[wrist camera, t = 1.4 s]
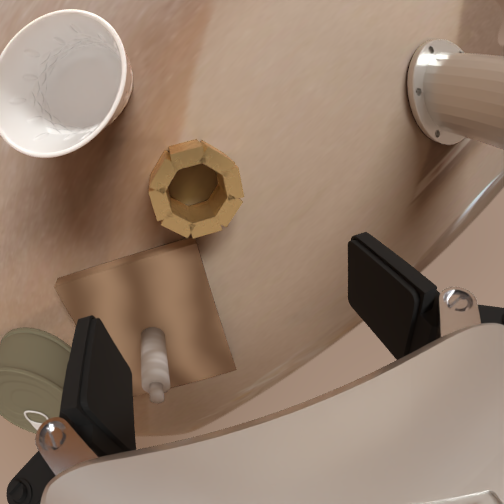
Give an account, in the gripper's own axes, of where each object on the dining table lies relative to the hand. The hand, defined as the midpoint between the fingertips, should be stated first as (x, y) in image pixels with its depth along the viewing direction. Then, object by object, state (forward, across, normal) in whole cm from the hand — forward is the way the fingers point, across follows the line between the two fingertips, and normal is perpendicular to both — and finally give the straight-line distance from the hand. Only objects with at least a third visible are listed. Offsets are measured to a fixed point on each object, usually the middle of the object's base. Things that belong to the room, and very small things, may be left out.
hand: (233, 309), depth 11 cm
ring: (+17, 0, 0) cm, 17 cm away
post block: (+17, +8, +13) cm, 23 cm away
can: (+18, +23, +15) cm, 33 cm away
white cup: (+18, +6, -10) cm, 21 cm away
